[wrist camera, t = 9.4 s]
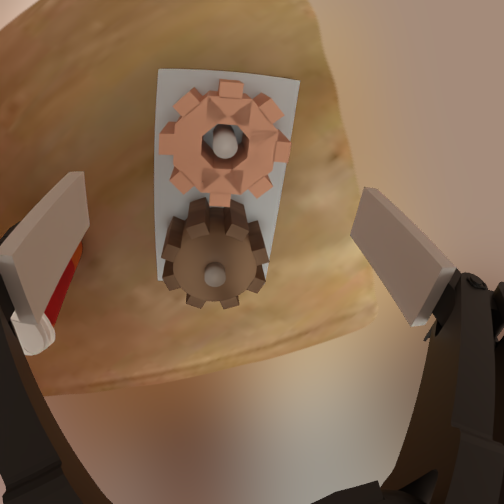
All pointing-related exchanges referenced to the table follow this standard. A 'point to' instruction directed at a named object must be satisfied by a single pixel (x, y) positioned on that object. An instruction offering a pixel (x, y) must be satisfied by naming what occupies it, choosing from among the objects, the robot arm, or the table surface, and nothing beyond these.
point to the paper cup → (46, 314)
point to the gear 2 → (214, 254)
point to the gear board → (217, 148)
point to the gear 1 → (203, 157)
